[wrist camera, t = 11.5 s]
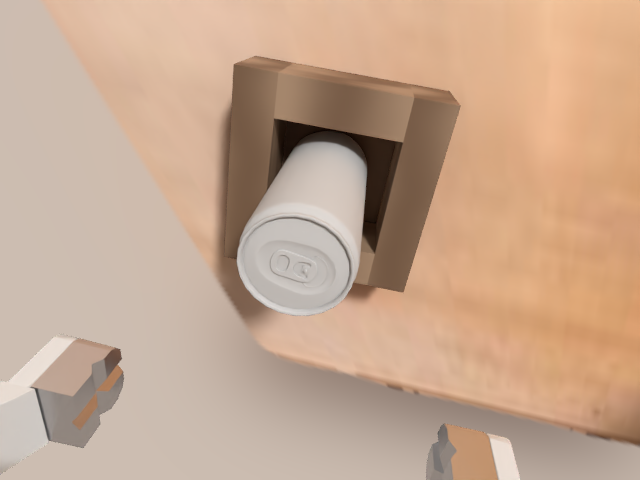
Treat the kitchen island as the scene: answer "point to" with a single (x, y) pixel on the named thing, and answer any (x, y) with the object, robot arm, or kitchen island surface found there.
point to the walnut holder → (349, 116)
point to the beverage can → (307, 228)
